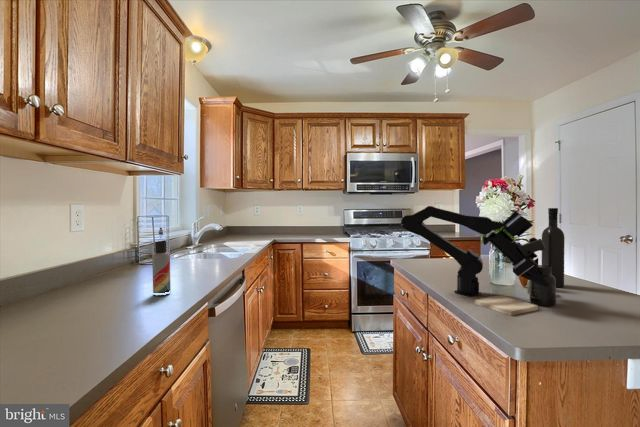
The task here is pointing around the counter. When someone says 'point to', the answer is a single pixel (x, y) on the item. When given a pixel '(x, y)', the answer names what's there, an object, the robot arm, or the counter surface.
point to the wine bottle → (554, 247)
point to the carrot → (523, 281)
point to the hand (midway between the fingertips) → (548, 283)
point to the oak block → (528, 287)
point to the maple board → (506, 305)
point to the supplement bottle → (543, 288)
